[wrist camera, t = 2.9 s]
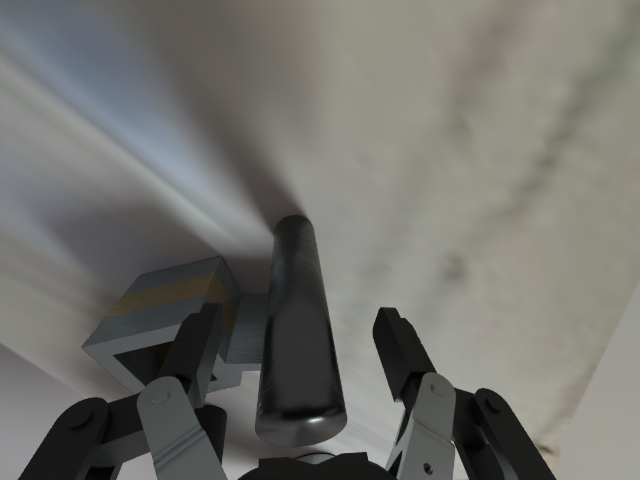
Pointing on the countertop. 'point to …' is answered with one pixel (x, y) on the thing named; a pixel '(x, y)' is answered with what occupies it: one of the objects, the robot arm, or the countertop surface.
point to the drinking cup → (213, 426)
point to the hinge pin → (298, 347)
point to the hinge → (179, 324)
